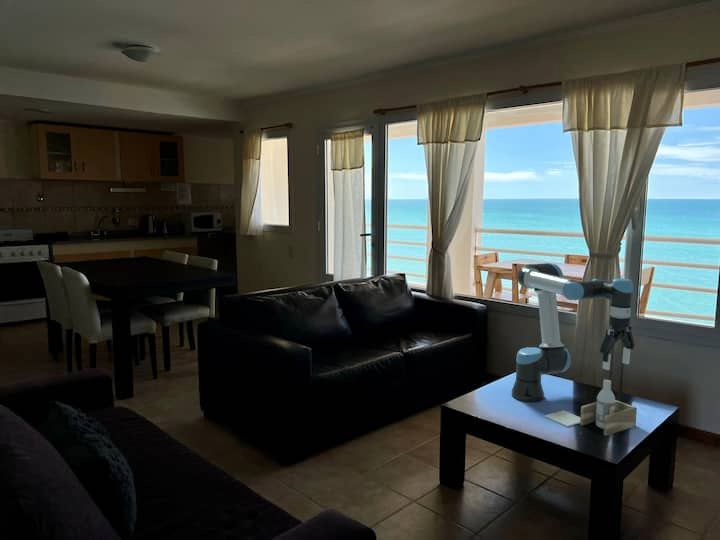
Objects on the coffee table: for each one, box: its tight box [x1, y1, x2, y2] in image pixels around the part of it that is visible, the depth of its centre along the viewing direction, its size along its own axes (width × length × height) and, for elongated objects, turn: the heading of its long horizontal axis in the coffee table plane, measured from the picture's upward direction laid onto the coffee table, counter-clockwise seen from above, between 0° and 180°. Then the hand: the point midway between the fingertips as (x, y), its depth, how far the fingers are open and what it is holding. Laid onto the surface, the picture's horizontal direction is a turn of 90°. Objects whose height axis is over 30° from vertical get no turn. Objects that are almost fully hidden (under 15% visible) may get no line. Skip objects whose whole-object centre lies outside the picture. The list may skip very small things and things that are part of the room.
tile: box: [544, 409, 581, 428], centre depth 224 cm, size 12×12×1 cm
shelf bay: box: [579, 399, 638, 436], centre depth 217 cm, size 12×19×8 cm, turn 119°
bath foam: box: [595, 379, 616, 430], centre depth 215 cm, size 7×7×20 cm
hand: (615, 366), depth 213 cm, fingers open, 13 cm apart
